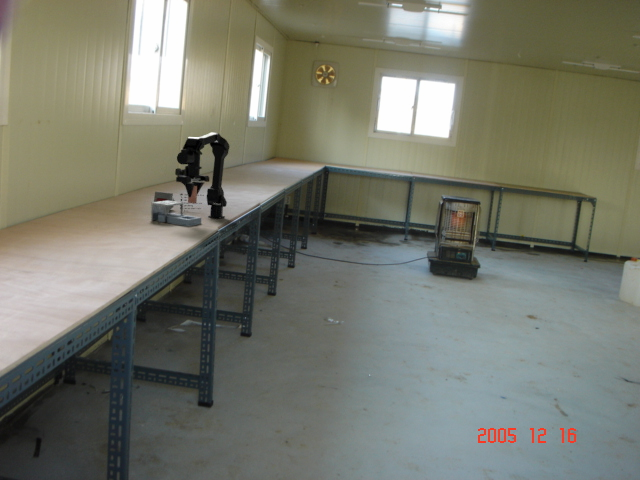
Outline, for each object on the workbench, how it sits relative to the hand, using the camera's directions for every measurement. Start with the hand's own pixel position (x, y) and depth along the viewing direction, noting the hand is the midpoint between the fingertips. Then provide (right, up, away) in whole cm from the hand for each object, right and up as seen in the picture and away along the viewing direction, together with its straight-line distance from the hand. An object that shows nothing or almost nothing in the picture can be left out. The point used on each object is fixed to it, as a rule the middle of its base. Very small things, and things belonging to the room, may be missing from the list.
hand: (192, 196), depth 280 cm
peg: (0, -3, +1) cm, 3 cm away
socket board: (-7, -12, +3) cm, 14 cm away
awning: (-14, -11, +6) cm, 19 cm away
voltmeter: (-16, -5, +37) cm, 40 cm away
